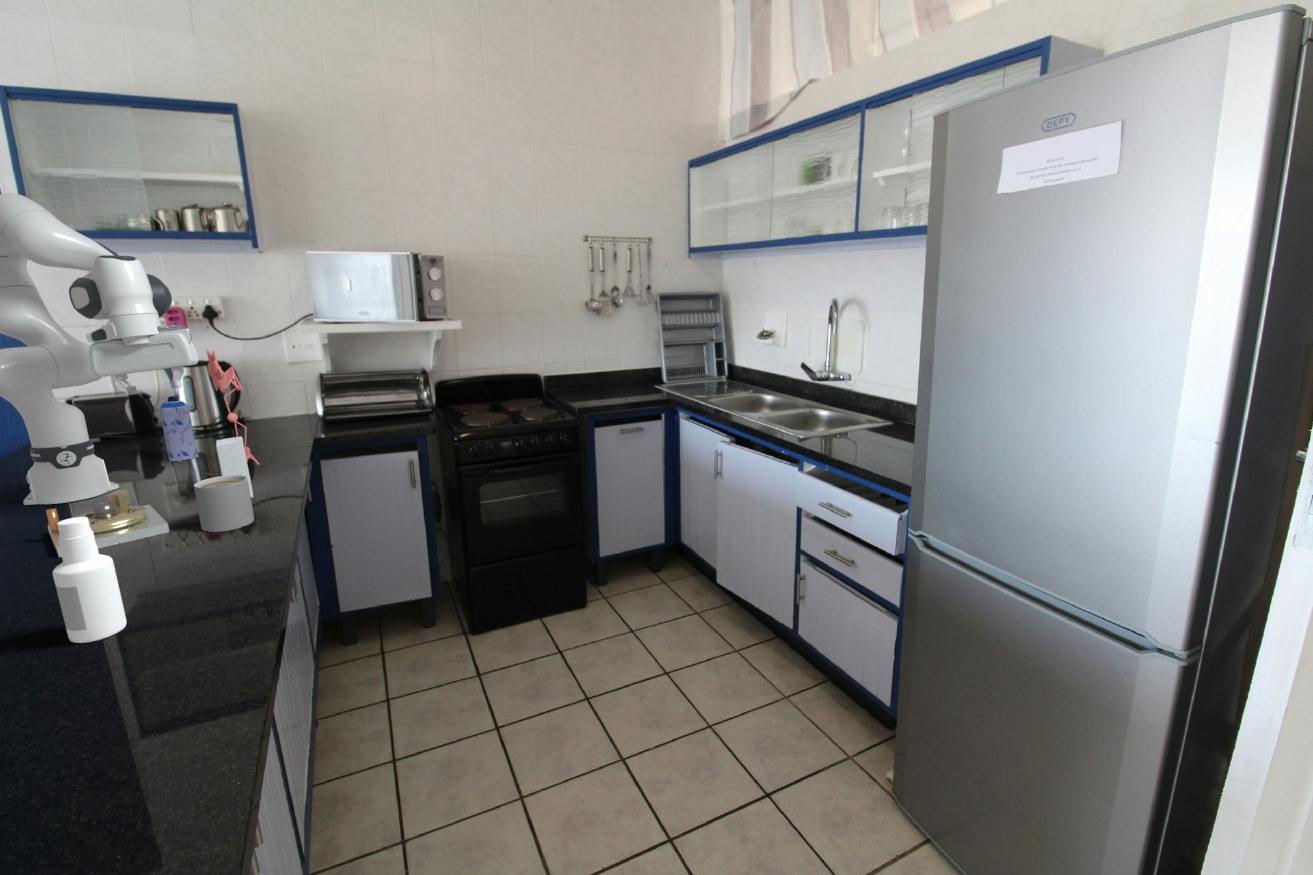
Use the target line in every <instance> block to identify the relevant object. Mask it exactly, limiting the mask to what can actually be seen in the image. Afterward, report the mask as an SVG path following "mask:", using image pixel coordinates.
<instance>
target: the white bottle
mask: <svg viewBox="0 0 1313 875" xmlns="http://www.w3.org/2000/svg"><path fill="white" fill-rule="evenodd" d="M74 517H75V516H74ZM57 526H58V530H59V538H58V539H59V543H60V547H61V555H62V557H61V559H62V562H61V563H60V564H58V565H56V567H55V568H54V569H53V571H52V577H53V581H54V584H55V588H56V592H57V597H58V601H59V605H60V610H61V613H62V616H63V622H64V624H65V630H66V633H67V637H68V639H69V641H70V642H71V643H74V644H77V643H78V644H84V643H91V642H95V641H100V640H103V639H106V638H110V637H111V636H113V635H116V634H118V633H119V632H121V631H122V630H123V629H125V627H126V625H127V623H128V622H127V617H126V612H125V608H124V604H123V600H122V599H123V598H122V595H121V590H120V587H119V582H118V576H117V573H116V572H117V571H116V568H115V564H114V560H113V558H112V557H111V556H110V555H106V554H100V552H99V548H98V547H97V544H96V542H95V538H94V533H93V531H92V530H91V528H90V525H89V520H88V518H87V517H75V518H73V517H69V518H66V519H63V520H59V522H58V523H57Z"/></svg>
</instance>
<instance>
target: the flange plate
mask: <svg viewBox="0 0 1313 875" xmlns="http://www.w3.org/2000/svg"><path fill="white" fill-rule="evenodd" d="M106 496H107V501H102V502H101V501H100V502H97V503H95V504H92V505H91V507H92V508H91V509H92V511H89V512H84V513H81V514H79V515H76V516H72V518H75V517H87V518H88V520H89V525H90V528H91V530H92V531H93V533H101V532H107V531H112V530H116V529H120V528H124V527H127V526H130V525H133V524H136V523H138V522H141V521H143V520H144V519H146V518H147V511H146V508H145V507H141V506H142V505H140V506H139V505H130V504H131V500H130V496H129V490H128V488H124V489H115V490H113V491H112V492H111V493H109V494H107V495H106Z"/></svg>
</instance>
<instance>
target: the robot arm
mask: <svg viewBox="0 0 1313 875" xmlns="http://www.w3.org/2000/svg"><path fill="white" fill-rule="evenodd" d="M28 261H30V262H32V263H34V264H37V265H40V266H43V267H51V268H61V269H69V270H70V269H71V270H79V271H85V272H86V271H87V272H88V273H86V275H84V276H82V277H77V278H76V279H75V280H74V281H73V282H72V283H71V284H70V287H69V288H68V294H69V299H70V303H71V305H72V308H73V309H74V310H75V311H76V312H77V313H79V315H81V316H83V317H84V318H86V319H88V320H97V321H98V320H100V321H101V320H108V323H106V324H104V325H102V326H100V327H98V328H96V329H94V330H92V331H88V332H87V333H86V340H87V341H88V343H91V345H90V344H87V343H86V342H83V341H81V340H79V339H77V338H75V337H74V336H72V335H71V334H69V332H68V331H66V330H65V329H63V327H61V325H59V324H58V323H57V322H56V320H55V318H53V316H52V315H51V313H50V312H49V311H50V310H49V309H48V308H47V306H46V304H45V303H44V300H43V298H42V297H41V294H40V292H39V290H38V289H37V287H36V284H35V283H34V281H33V279H32V277H31V275H30V274H29V272H28V271H29V270H28V266H27V265H28ZM172 302H173V299H172V293H171V291H170V289H169V287H167V285H166V284H165V283H164V282H163V281H162V280H161V279H159V277H157V276H155V275H153V274H150V273H147V272H146V270H145V268H144V265H143V263H142V262H141V261H140V260H139V259H138V258H137V257H135V256H132V255H119V254H118V253H116V252H115V251H113V250H111V249H110V248H109V247H107V246H106V245H104V244H102V243H100V242H98V241H97V240H94V239H92V238H90V237H88V236H86V235H83V234H82V233H80V232H78V231H76V230H75V229H73V228H71V227H70V226H68V225H66V224H65V223H63V222H62V221H61V220H59V219H58V218H57V217H56V216H55V215H54V214H53V213H52V212H50V211H49V210H48V209H46V208H45V207H44V206H42V205H40V204H39V203H37V202H36V201H34V200H32V199H31V198H29V197H27V196H25V195H22V194H18V193H14V192H12V193H11V192H10V193H9V192H8V193H1V194H0V334H1V335H3V336H7V337H11V338H13V339H15V340H19V341H20V342H22V343H23V344H24V345H25V346H17V347H5V348H4V347H3V348H0V397H1V398H3V399H4V400H5V401H7V402H9V403H10V404H11V405H12V406H13V407H14V408H15V409H16V410H17V412H18V413H19V414H20V416H21V417H22V420H23V422H24V425H25V427H26V431H27V433H28V437H29V441H30V445H31V446H30V448H29V451H30V453H29V454H30V456H31V460H32V461H33V465H32V466H31V467H30V468H29V470H28V471H27V474H26V477H25V478H26V481H27V484H28V485H29V487H28V488H29V491H30V492H29V493H28V495H27V496H26V497H25V498H24V499H23V505H24V506H30V505H31V506H32V505H53V504H55V505H57V504H65V503H70V502H76V501H77V502H78V501H81V500H87V499H90V498H95V497H98V496H101V495H103V494H106V493H109V492H111V491H115V490H118V489H119V488H120V485H119V483H116V482H113V481H110V480H109V475H108V472H107V467H106V464H105V461H104V459H102V458H101V457H98V456H97V455H96V454H94V453H95V446H94V443H93V440H92V439H90V436H89V433H88V428H87V422H86V419H85V414H84V413H83V411H82V410H81V409H79V408H78V407H77V406H74V405H72V404H69V403H66V402H62V401H59V400H58V399H57V398H56V397H55V395H54V393H53V390H56V389H66V388H73V387H81V386H84V385H88V384H91V383H95V382H97V381H100V380H101V379H102V378H105V377H112V376H114V380H115V381H116V382H117V384H118V385H120V386H121V387H122V388H123V390H124V393H125V395H126V396H129V395H136V394H138V390H137V386H136V385H131V383H129V381H128V379H129V376H128V374H136V373H143V372H149V371H157V370H165V369H171V373H174V376H173V379H172V380H170V381H169V380H168V381H169V382H168V383H169V384H170V388H171V390H172V389H173V390H174V389H180V388H183V384H182V383H183V382H182V379H183V375H184V372H185V369H184V367H187V366H194V365H197V364H198V363H199V360H200V359H199V358H200V357H199V354H198V352H197V349H196V347H195V345H194V343H193V336H192V334H191V333H192V332H191V330H190V328H188V327H187V326H185V325H182V324H174V325H173V324H172V325H163V326H162V323H161V320H160V318H162V317H163V316H164V315H165V314H166V313H167V312H168V311H169V309H170V307H171V305H172Z"/></svg>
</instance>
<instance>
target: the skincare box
mask: <svg viewBox="0 0 1313 875" xmlns="http://www.w3.org/2000/svg"><path fill="white" fill-rule="evenodd" d="M215 441H216V442H215V443H216V444H215V450H216V453H217V460H218V463H219V464H218V465H219V469H220V475H221V476H228V475H243V476H246V477H247V479H248V485H249V491H250V497H251V499H252V498H254V492H253V486H252V485H253V484H252V481H251V476H250V471H249V466H248V461H247V459H246V454H245V449H244V448H245V443H244V439H243V437H242V436H238V437H237V436H236V437H235V436H234V437H228V438H222V439H221V438H220V439H216V440H215Z"/></svg>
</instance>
